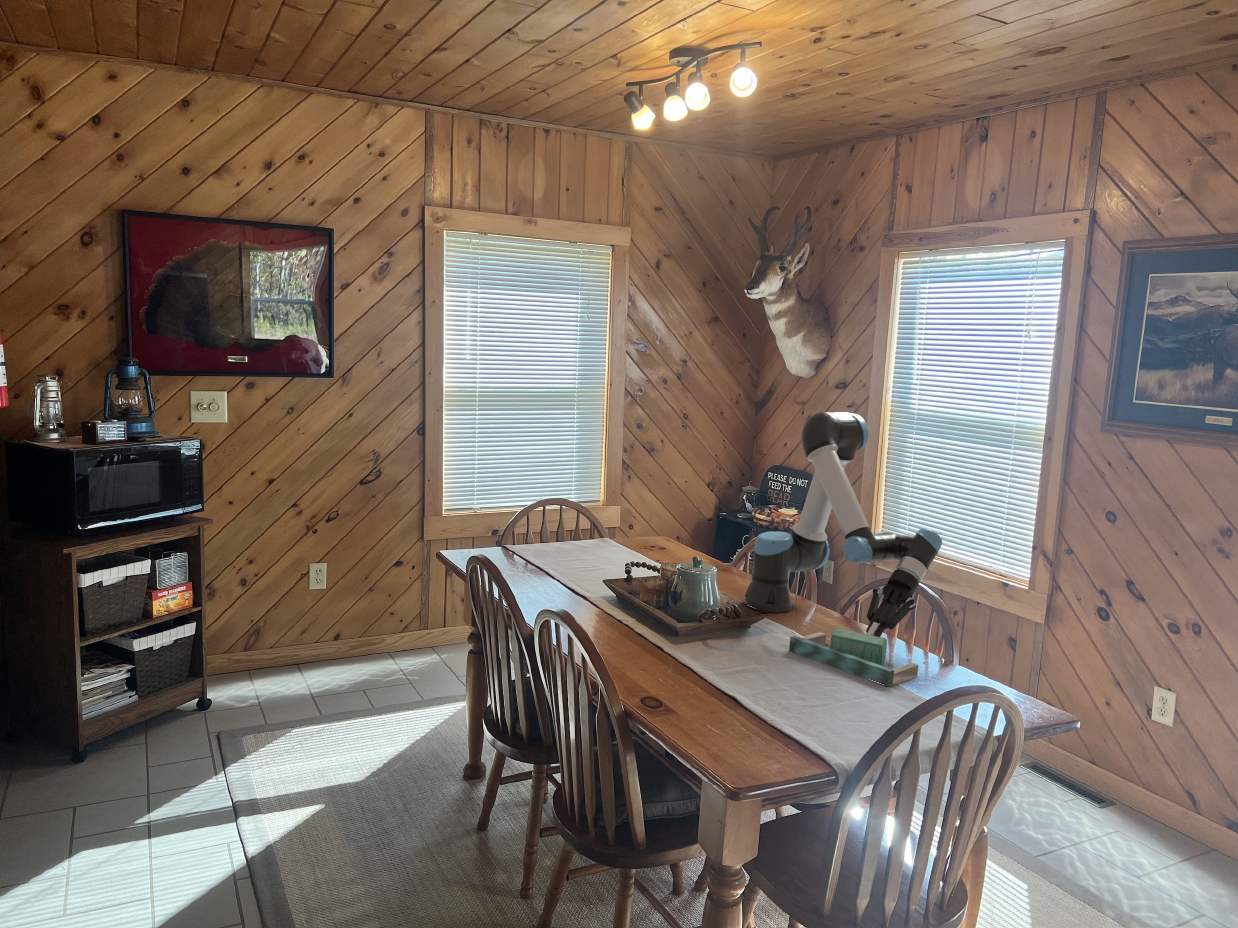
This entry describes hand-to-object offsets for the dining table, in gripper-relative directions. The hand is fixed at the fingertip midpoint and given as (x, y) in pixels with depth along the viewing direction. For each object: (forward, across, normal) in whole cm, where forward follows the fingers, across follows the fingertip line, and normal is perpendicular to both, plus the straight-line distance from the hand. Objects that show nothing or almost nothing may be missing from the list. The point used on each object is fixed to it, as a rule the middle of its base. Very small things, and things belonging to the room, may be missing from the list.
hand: (866, 644), depth 235 cm
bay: (+7, 0, +2) cm, 8 cm away
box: (+6, -1, +1) cm, 7 cm away
